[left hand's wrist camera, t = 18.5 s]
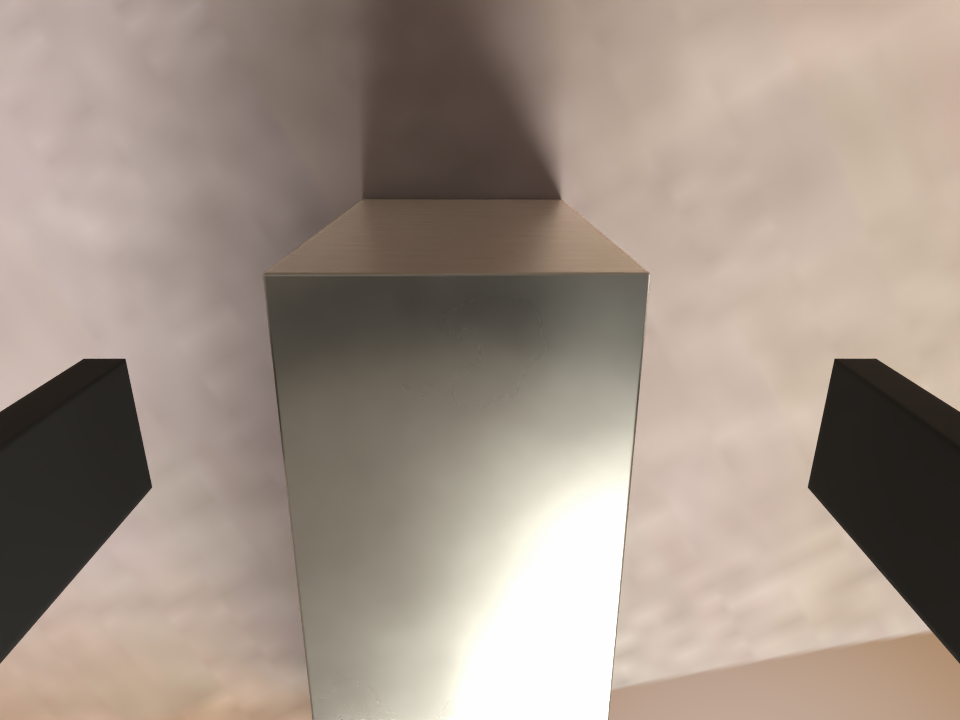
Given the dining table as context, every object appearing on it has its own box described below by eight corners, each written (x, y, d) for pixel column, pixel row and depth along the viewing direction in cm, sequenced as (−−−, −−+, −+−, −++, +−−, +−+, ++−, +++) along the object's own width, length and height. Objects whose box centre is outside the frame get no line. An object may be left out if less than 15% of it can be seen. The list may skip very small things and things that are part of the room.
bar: (361, 199, 18) (261, 272, 9) (562, 199, 19) (651, 272, 10) (395, 785, 26) (357, 1128, 17) (536, 783, 26) (570, 1123, 17)
